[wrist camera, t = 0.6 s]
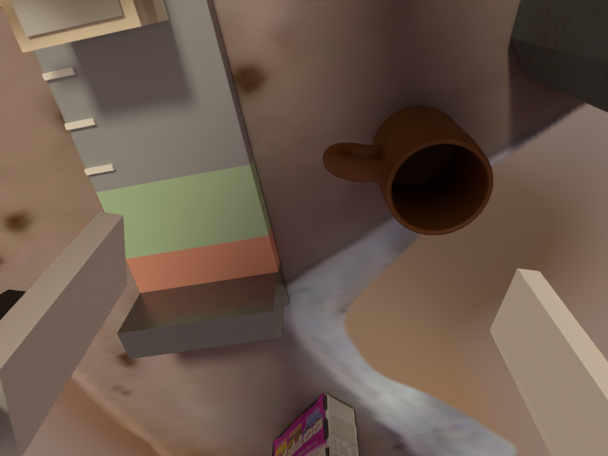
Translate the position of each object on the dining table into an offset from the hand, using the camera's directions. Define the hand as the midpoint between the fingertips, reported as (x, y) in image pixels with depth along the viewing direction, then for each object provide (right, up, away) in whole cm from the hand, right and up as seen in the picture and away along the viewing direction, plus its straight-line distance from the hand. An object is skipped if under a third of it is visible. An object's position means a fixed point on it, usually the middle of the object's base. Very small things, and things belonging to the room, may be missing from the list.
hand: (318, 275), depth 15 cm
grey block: (-9, -4, +32) cm, 33 cm away
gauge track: (-13, +11, +24) cm, 29 cm away
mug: (+7, +9, +25) cm, 27 cm away
